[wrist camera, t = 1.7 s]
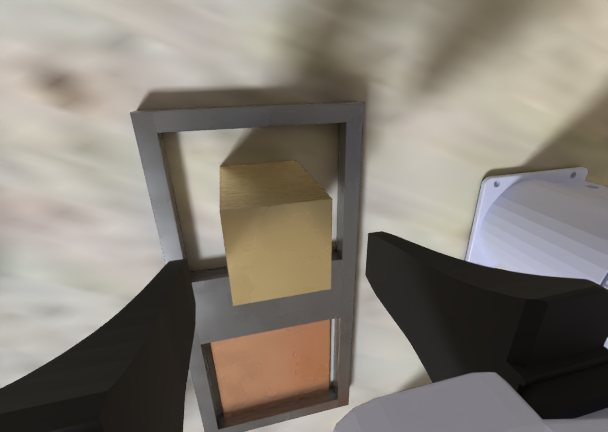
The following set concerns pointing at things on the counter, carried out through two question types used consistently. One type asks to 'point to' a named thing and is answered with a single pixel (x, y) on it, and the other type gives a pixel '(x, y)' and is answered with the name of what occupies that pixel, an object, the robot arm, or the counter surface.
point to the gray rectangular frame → (270, 313)
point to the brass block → (274, 231)
